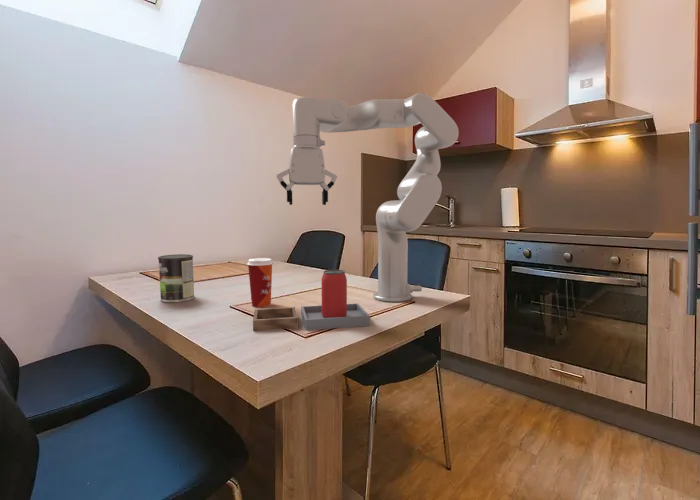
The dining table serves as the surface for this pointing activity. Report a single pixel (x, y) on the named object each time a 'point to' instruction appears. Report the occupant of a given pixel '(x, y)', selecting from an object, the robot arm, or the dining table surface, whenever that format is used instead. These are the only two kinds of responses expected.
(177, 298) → the coffee can
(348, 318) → the tray
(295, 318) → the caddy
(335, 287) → the beer can
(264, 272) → the paper cup
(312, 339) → the dining table surface
